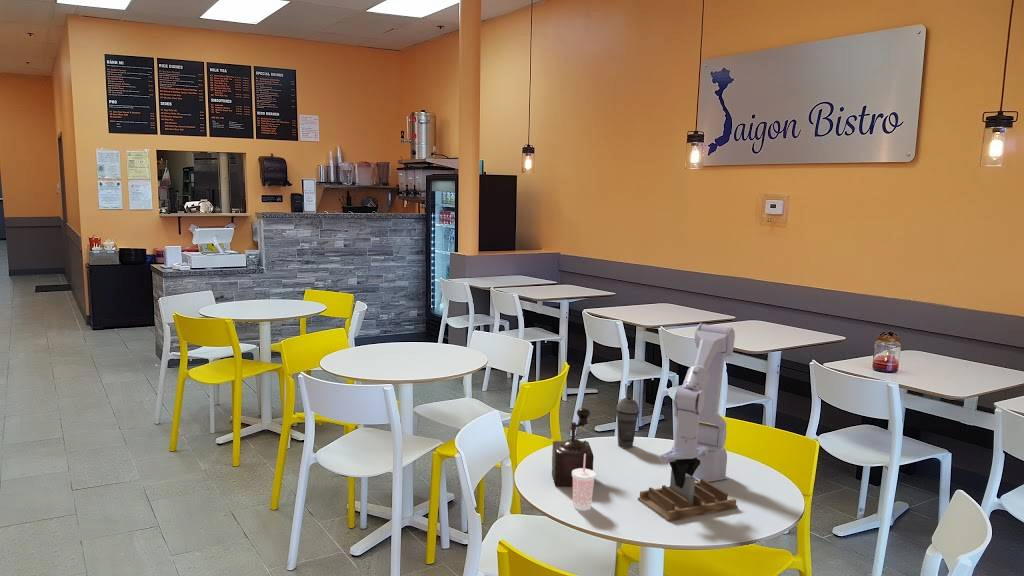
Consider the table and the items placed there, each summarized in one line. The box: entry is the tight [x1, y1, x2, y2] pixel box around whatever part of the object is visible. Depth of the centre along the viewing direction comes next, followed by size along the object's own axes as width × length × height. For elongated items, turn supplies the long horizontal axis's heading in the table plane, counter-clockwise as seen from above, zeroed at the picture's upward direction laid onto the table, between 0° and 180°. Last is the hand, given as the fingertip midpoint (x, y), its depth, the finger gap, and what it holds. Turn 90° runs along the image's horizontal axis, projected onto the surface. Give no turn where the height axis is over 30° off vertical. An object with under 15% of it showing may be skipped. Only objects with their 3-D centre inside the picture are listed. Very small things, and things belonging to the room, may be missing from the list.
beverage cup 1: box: [572, 454, 597, 511], centre depth 181 cm, size 6×6×14 cm
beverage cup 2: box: [615, 383, 640, 449], centre depth 225 cm, size 7×7×20 cm
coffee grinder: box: [551, 407, 594, 488], centre depth 200 cm, size 16×11×18 cm
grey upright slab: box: [669, 468, 696, 507], centre depth 185 cm, size 2×7×8 cm, turn 31°
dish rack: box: [637, 479, 738, 522], centre depth 186 cm, size 22×13×4 cm, turn 115°
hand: (682, 485), depth 185 cm, fingers closed on grey upright slab, 2 cm apart
